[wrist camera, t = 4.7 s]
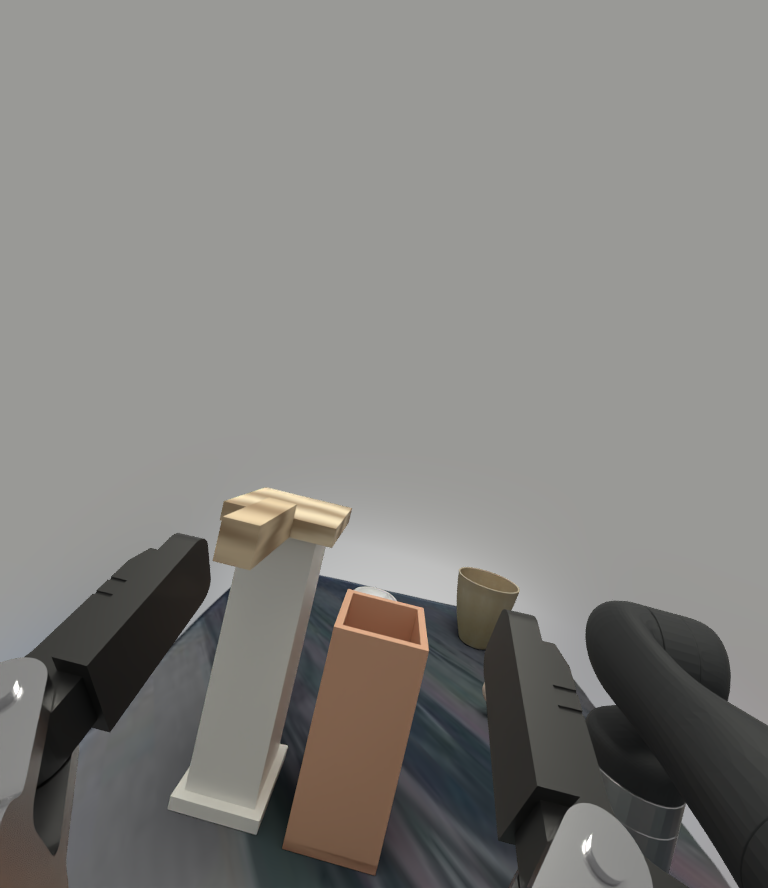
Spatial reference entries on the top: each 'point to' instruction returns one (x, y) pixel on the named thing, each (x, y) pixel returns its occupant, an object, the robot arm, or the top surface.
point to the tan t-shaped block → (274, 525)
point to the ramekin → (375, 592)
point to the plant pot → (481, 604)
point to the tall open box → (359, 732)
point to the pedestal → (251, 690)
